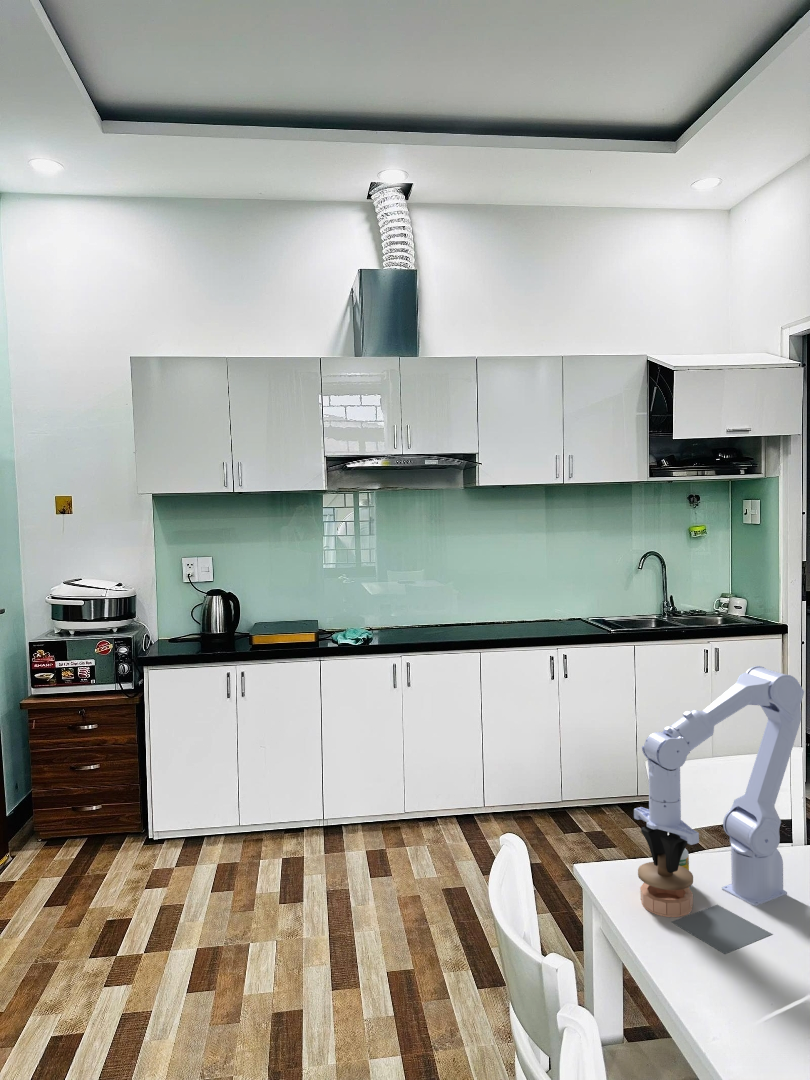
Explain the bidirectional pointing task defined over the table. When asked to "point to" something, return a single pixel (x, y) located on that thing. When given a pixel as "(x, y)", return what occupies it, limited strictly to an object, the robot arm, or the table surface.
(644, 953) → the table surface
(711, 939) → the mat
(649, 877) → the lid
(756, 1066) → the table surface
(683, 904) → the bowl
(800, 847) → the table surface
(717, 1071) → the table surface
